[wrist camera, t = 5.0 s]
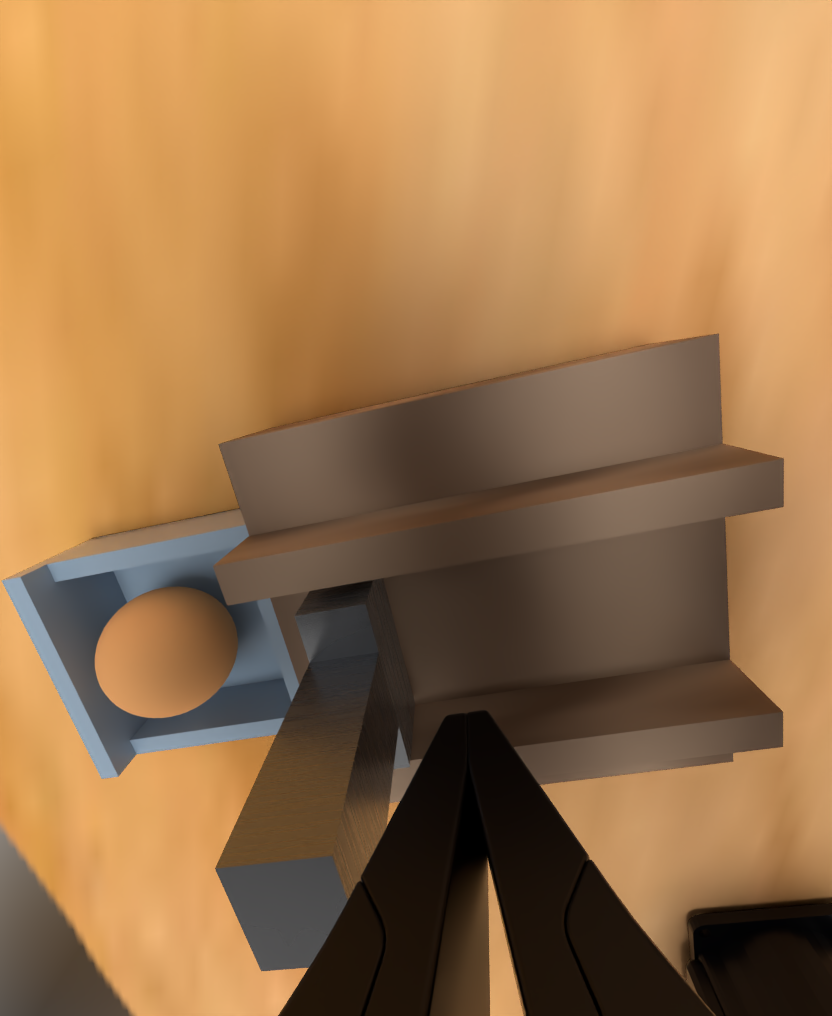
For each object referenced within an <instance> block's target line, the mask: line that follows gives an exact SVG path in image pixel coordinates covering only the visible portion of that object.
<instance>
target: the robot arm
mask: <svg viewBox="0 0 832 1016" xmlns="http://www.w3.org/2000/svg"><path fill="white" fill-rule="evenodd" d="M488 861H489V866H490V870H491V874H492V879H493V883H494V888H495V892H496V896H497V901H498V905H499V910H500V914H501V918H502V923H503V927H504V932H505V936H506V940H507V945H508V949H509V954H510V958H511V962H512V967H513V971H514V975H515V980H516V984H517V989H518V993H519V997H520V1002H521V1006H522V1011H523V1015H524V1016H832V903H828V904H816V905H804V906H793V907H781V908H769V909H757V910H745V911H734V912H722V913H710V914H699V915H695V916H693V917H691V918H690V919H689V921H688V931H689V944H690V957H691V960H688V963H687V965H686V975H687V982H686V980H685V979H684V978H683V977H682V976H681V975H680V973H679V972H678V971H677V970H676V969H675V968H674V966H673V965H672V964H671V963H670V962H669V961H668V959H667V958H666V957H665V956H664V954H663V953H662V952H661V951H660V950H659V948H658V947H657V946H656V945H655V943H654V942H653V941H652V940H651V939H650V937H649V936H648V935H647V934H646V932H645V931H644V930H643V929H642V928H641V926H640V925H639V924H638V923H637V921H636V920H635V919H634V918H633V916H632V915H631V913H630V912H629V911H628V909H627V908H626V907H625V905H624V904H623V903H622V901H621V900H620V899H619V897H618V896H617V895H616V893H615V892H614V890H613V889H612V888H611V886H610V885H609V884H608V882H607V881H606V879H605V878H604V876H603V875H602V874H601V872H600V871H599V869H598V868H597V866H596V865H595V864H594V862H593V861H592V860H590V859H589V855H588V854H587V852H586V851H585V850H584V848H583V847H582V845H581V844H580V842H579V841H578V840H577V838H576V837H575V835H574V834H573V832H572V831H571V829H570V828H569V827H568V825H567V824H566V822H565V821H564V819H563V818H562V816H561V815H560V814H559V812H558V811H557V809H556V808H555V806H554V805H553V804H552V802H551V801H550V799H549V798H548V796H547V795H546V793H545V792H544V791H543V789H542V788H541V786H540V785H539V783H538V782H537V780H536V779H535V778H534V776H533V775H532V773H531V772H530V770H529V769H528V768H527V766H526V765H525V763H524V762H523V760H522V759H521V757H520V756H519V755H518V753H517V752H516V750H515V749H514V747H513V746H512V744H511V743H510V742H509V740H508V739H507V737H506V736H505V734H504V733H503V732H502V730H501V729H500V727H499V726H498V724H497V723H496V721H495V720H494V719H493V717H492V716H491V714H490V713H489V712H488V711H487V710H479V711H472V712H468V713H467V714H466V713H457V714H449V715H446V716H445V718H444V719H443V721H442V723H441V725H440V727H439V729H438V731H437V733H436V734H435V736H434V738H433V740H432V742H431V744H430V746H429V748H428V750H427V752H426V753H425V755H424V757H423V759H422V761H421V763H420V765H419V767H418V769H417V771H416V772H415V774H414V776H413V778H412V780H411V782H410V784H409V786H408V788H407V790H406V791H405V793H404V795H403V797H402V799H401V801H400V803H399V805H398V807H397V809H396V810H395V812H394V814H393V816H392V818H391V820H390V822H389V824H388V826H387V828H386V829H385V831H384V833H383V835H382V837H381V839H380V841H379V843H378V845H377V847H376V848H375V850H374V852H373V854H372V856H371V858H370V860H369V862H368V864H367V866H366V867H365V869H364V871H363V873H362V875H361V881H358V882H357V884H356V886H355V888H354V890H353V892H352V894H351V895H350V897H349V899H348V901H347V903H346V905H345V907H344V909H343V910H342V912H341V914H340V916H339V918H338V919H337V921H336V923H335V925H334V927H333V928H332V930H331V932H330V934H329V935H328V937H327V939H326V941H325V943H324V944H323V946H322V947H321V949H320V951H319V952H318V954H317V955H316V957H315V959H314V960H313V962H312V963H311V965H310V967H309V968H308V970H307V972H306V973H305V975H304V976H303V978H302V980H301V981H300V983H299V984H298V986H297V988H296V989H295V991H294V992H293V994H292V995H291V997H290V998H289V1000H288V1001H287V1003H286V1004H285V1006H284V1008H283V1009H282V1011H281V1012H280V1014H279V1015H278V1016H490V979H489V909H488Z"/></svg>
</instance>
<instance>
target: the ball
mask: <svg viewBox="0 0 832 1016" xmlns="http://www.w3.org/2000/svg"><path fill="white" fill-rule="evenodd" d="M237 650H238V636H237V630H236V626H235V623H234V621H233V619H232V617H231V615H230V613H229V612H228V610H227V609H226V608H225V607H224V605H223V604H222V603H221V602H219V601H218V600H217V599H216V598H214V597H213V596H211V595H209V594H207V593H205V592H203V591H200V590H197V589H194V588H189V587H180V586H176V587H164V588H159V589H155V590H151V591H149V592H146V593H143V594H141V595H139V596H138V597H136V598H134V599H132V600H131V601H129V602H128V603H126V604H125V605H124V606H123V607H121V608H120V609H119V610H118V611H117V612H116V613H115V614H114V616H113V617H112V618H111V619H110V620H109V622H108V623H107V625H106V626H105V627H104V629H103V632H102V634H101V636H100V638H99V640H98V644H97V647H96V653H95V671H96V676H97V679H98V682H99V685H100V687H101V688H102V690H103V692H104V693H105V695H106V696H107V697H108V698H109V699H110V700H111V701H112V702H113V703H114V704H115V705H116V706H118V707H119V708H121V709H122V710H124V711H126V712H128V713H131V714H134V715H137V716H141V717H147V718H165V717H172V716H176V715H180V714H183V713H186V712H188V711H190V710H192V709H194V708H196V707H198V706H199V705H201V704H203V703H204V702H206V701H207V700H208V699H210V698H211V697H212V696H213V695H214V694H215V693H216V692H217V691H218V690H219V689H220V687H221V686H222V685H223V684H224V683H225V681H226V680H227V678H228V676H229V674H230V672H231V670H232V668H233V666H234V663H235V660H236V655H237Z"/></svg>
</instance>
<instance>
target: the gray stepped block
mask: <svg viewBox="0 0 832 1016" xmlns="http://www.w3.org/2000/svg"><path fill="white" fill-rule="evenodd" d="M294 617H295V620H296V623H297V626H298V629H299V632H300V635H301V638H302V641H303V645H304V648H305V651H306V654H307V657H308V660H309V665H308V668H307V670H306V672H305V674H304V676H303V679H302V681H301V683H300V685H299V687H298V689H297V692H296V694H295V696H294V698H293V700H292V702H291V705H290V707H289V709H288V711H287V713H286V715H285V718H284V720H283V722H282V724H281V726H280V729H279V731H278V733H277V735H276V737H275V739H274V742H273V744H272V746H271V748H270V750H269V752H268V755H267V757H266V759H265V761H264V763H263V766H262V768H261V770H260V772H259V774H258V776H257V779H256V781H255V783H254V785H253V787H252V789H251V792H250V794H249V796H248V798H247V800H246V803H245V805H244V807H243V809H242V811H241V813H240V816H239V818H238V820H237V822H236V824H235V826H234V829H233V831H232V833H231V835H230V837H229V840H228V842H227V844H226V846H225V848H224V850H223V853H222V855H221V857H220V859H219V861H218V863H217V866H216V868H215V869H216V872H217V874H218V876H219V878H220V881H221V883H222V885H223V887H224V889H225V892H226V894H227V896H228V898H229V900H230V903H231V905H232V907H233V909H234V912H235V914H236V916H237V918H238V920H239V923H240V925H241V927H242V929H243V931H244V934H245V936H246V938H247V940H248V943H249V945H250V947H251V949H252V951H253V954H254V956H255V958H256V960H257V962H258V965H259V967H260V969H261V971H270V970H283V969H295V968H308V967H310V965H311V963H312V962H313V960H314V959H315V957H316V955H317V954H318V952H319V951H320V949H321V947H322V946H323V944H324V943H325V941H326V939H327V937H328V935H329V934H330V932H331V930H332V928H333V927H334V925H335V923H336V921H337V919H338V918H339V916H340V914H341V912H342V910H343V909H344V907H345V905H346V903H347V901H348V899H349V897H350V895H351V894H352V892H353V890H354V888H355V886H356V884H357V882H358V881H361V875H362V873H363V871H364V869H365V867H366V866H367V864H368V862H369V860H370V858H371V856H372V854H373V852H374V850H375V848H376V847H377V845H378V843H379V841H380V839H381V837H382V835H383V833H384V831H385V829H386V827H387V818H388V810H389V802H390V794H391V786H392V778H393V769H399V768H407V767H410V761H411V749H412V736H413V724H414V712H415V700H414V696H413V693H412V689H411V685H410V681H409V677H408V673H407V669H406V665H405V661H404V658H403V654H402V650H401V646H400V642H399V638H398V634H397V630H396V627H395V623H394V619H393V615H392V611H391V607H390V603H389V599H388V595H387V592H386V588H385V584H384V580H383V578H380V579H375V580H369V581H363V582H358V583H352V584H346V585H341V586H335V587H330V588H324V589H318V590H313V591H309V593H308V595H307V596H306V598H305V600H304V601H303V603H302V604H301V606H300V608H299V609H298V611H297V613H296V614H295V616H294Z"/></svg>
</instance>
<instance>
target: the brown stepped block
mask: <svg viewBox="0 0 832 1016" xmlns="http://www.w3.org/2000/svg"><path fill="white" fill-rule="evenodd" d="M219 447H220V450H221V453H222V456H223V459H224V462H225V465H226V468H227V471H228V474H229V477H230V480H231V483H232V486H233V489H234V492H235V495H236V498H237V501H238V504H239V507H240V510H241V513H242V516H243V519H244V522H245V525H246V528H247V531H248V534H249V536H248V537H247V538H246V539H245V540H244V541H242V542H241V543H240V544H239V545H238V546H236V547H235V548H234V549H233V550H232V551H230V552H229V553H228V554H227V555H226V556H224V557H223V558H222V559H221V560H220V561H218V562H217V563H216V564H215V565H214V566H213V568H214V571H215V574H216V576H217V579H218V582H219V585H220V587H221V590H222V593H223V596H224V598H225V601H226V604H227V606H228V605H234V604H239V603H245V602H251V601H256V600H262V599H268V598H270V599H271V602H272V605H273V608H274V611H275V614H276V617H277V620H278V623H279V626H280V629H281V632H282V635H283V638H284V641H285V644H286V647H287V650H288V653H289V656H290V659H291V662H292V665H293V668H294V671H295V674H296V677H297V680H298V683H299V685H300V683H301V681H302V679H303V676H304V674H305V672H306V670H307V668H308V665H309V660H308V657H307V654H306V651H305V648H304V645H303V641H302V638H301V635H300V632H299V629H298V626H297V623H296V620H295V617H294V616H295V614H296V613H297V611H298V609H299V608H300V606H301V604H302V603H303V601H304V600H305V598H306V596H307V595H308V593H309V591H313V590H318V589H324V588H330V587H335V586H341V585H346V584H352V583H358V582H363V581H369V580H375V579H380V578H383V580H384V584H385V588H386V592H387V595H388V599H389V603H390V607H391V611H392V615H393V619H394V623H395V627H396V630H397V634H398V638H399V642H400V646H401V650H402V654H403V658H404V661H405V665H406V669H407V673H408V677H409V681H410V685H411V689H412V693H413V696H414V700H415V712H414V724H413V736H412V749H411V761H410V767H407V768H399V769H393V778H392V786H391V794H390V802H389V803H392V802H400V801H401V799H402V797H403V795H404V793H405V791H406V790H407V788H408V786H409V784H410V782H411V780H412V778H413V776H414V774H415V772H416V771H417V769H418V767H419V765H420V763H421V761H422V759H423V757H424V755H425V753H426V752H427V750H428V748H429V746H430V744H431V742H432V740H433V738H434V736H435V734H436V733H437V731H438V729H439V727H440V725H441V723H442V721H443V719H444V718H445V716H446V715H449V714H457V713H466V714H467V713H468V712H472V711H479V710H487V711H488V712H489V713H490V714H491V716H492V717H493V719H494V720H495V721H496V723H497V724H498V726H499V727H500V729H501V730H502V732H503V733H504V734H505V736H506V737H507V739H508V740H509V742H510V743H511V744H512V746H513V747H514V749H515V750H516V752H517V753H518V755H519V756H520V757H521V759H522V760H523V762H524V763H525V765H526V766H527V768H528V769H529V770H530V772H531V773H532V775H533V776H534V778H535V779H536V780H537V782H538V783H539V785H542V784H550V783H558V782H567V781H575V780H583V779H592V778H600V777H608V776H617V775H625V774H633V773H642V772H650V771H658V770H667V769H675V768H683V767H691V766H700V765H708V764H716V763H725V762H733V753H736V752H745V751H753V750H761V749H769V748H777V747H783V711H782V710H781V709H780V708H779V707H777V706H776V705H775V704H774V703H773V702H772V701H771V700H770V699H769V698H768V697H767V696H766V695H765V694H764V693H763V692H762V691H761V690H760V689H759V688H758V687H757V686H756V685H755V684H754V683H753V682H752V681H751V680H750V679H749V678H748V677H747V676H746V675H745V674H744V673H743V672H742V671H741V670H740V669H739V668H738V667H737V666H736V665H735V664H734V663H733V662H732V661H731V660H730V649H729V620H728V591H727V561H726V532H725V517H730V516H735V515H741V514H746V513H752V512H758V511H763V510H769V509H775V508H780V507H783V505H784V459H783V458H779V457H775V456H771V455H767V454H763V453H759V452H755V451H751V450H747V449H742V448H738V447H734V446H730V445H726V444H722V414H721V385H720V356H719V334H713V335H706V336H700V337H693V338H686V339H680V340H673V341H666V342H660V343H653V344H647V345H643V346H638V347H634V348H629V349H625V350H620V351H616V352H611V353H607V354H602V355H598V356H593V357H589V358H584V359H580V360H575V361H571V362H566V363H562V364H557V365H553V366H548V367H544V368H539V369H535V370H530V371H526V372H521V373H517V374H512V375H508V376H503V377H499V378H494V379H490V380H485V381H481V382H476V383H472V384H467V385H463V386H458V387H454V388H449V389H445V390H440V391H436V392H431V393H427V394H422V395H418V396H413V397H409V398H404V399H400V400H395V401H391V402H386V403H382V404H377V405H373V406H368V407H364V408H359V409H355V410H350V411H346V412H341V413H337V414H332V415H328V416H323V417H319V418H314V419H310V420H305V421H301V422H296V423H291V424H287V425H282V426H278V427H273V428H269V429H266V430H263V431H259V432H256V433H253V434H250V435H246V436H243V437H240V438H237V439H233V440H230V441H227V442H224V443H220V444H219Z"/></svg>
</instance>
